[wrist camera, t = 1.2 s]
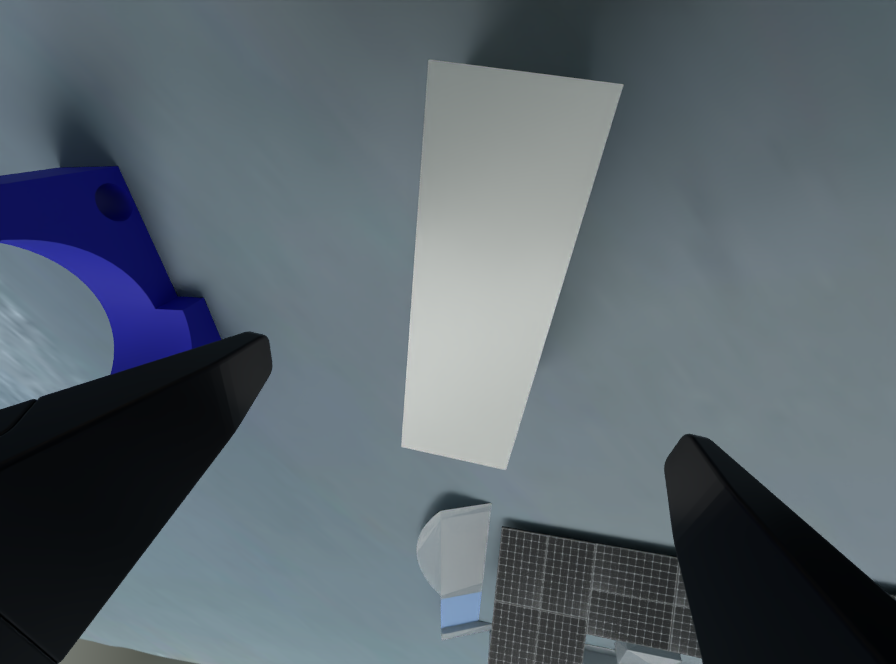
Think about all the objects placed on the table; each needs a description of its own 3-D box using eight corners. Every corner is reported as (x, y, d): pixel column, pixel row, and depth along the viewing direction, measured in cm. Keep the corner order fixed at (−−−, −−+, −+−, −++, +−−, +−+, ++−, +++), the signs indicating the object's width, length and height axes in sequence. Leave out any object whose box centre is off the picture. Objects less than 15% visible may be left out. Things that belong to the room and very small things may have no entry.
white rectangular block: (588, 91, 12) (624, 84, 7) (510, 384, 18) (505, 470, 14) (462, 74, 12) (428, 59, 8) (429, 368, 18) (401, 446, 14)
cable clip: (244, 390, 22) (158, 477, 17) (178, 383, 22) (76, 465, 17) (151, 164, 16) (-30, 194, 10) (64, 166, 16) (-144, 195, 11)
